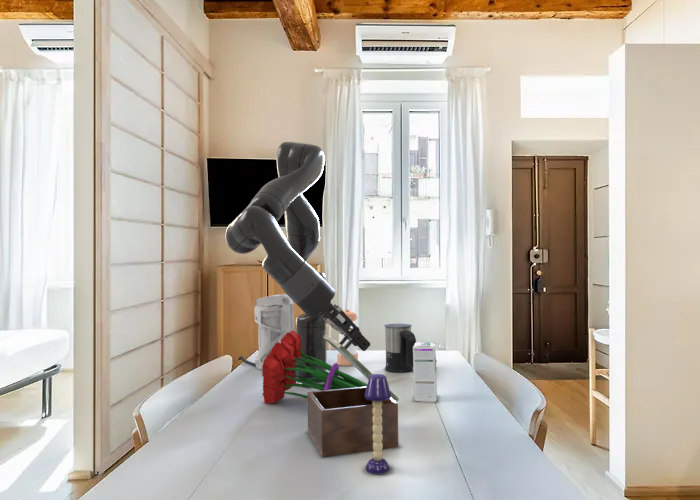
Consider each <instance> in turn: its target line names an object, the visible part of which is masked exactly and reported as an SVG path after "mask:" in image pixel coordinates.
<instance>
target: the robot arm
mask: <svg viewBox="0 0 700 500" xmlns="http://www.w3.org/2000/svg"><path fill="white" fill-rule="evenodd" d="M324 166H325V154H324V150H323V149H322V147H321V146H319V145H315V144H311V143H305V142H295V141H283V142H281V144H280V145H279V146H278V149H277V152H276V169H277V175H278V177H277V178H274V179H272V180H271V181H268V182H267V183H265V184H264V185H263V186H262V187H261V188H260V190H259V191H258V192H257V193H256V194H255V196H254V197H253V198H252V199H251V201H250V203H249V204H248V205H247V206H246V208H244V209H243V210H242V211H241V212H240V213H239V214H237V216H236V217H235V219H234V220H232V222H230V223H229V224H228V226H227V228H226V230H225V233H224V234H225V236H224V237H225V242H226V245H227V247H229V249H230V250H231V251H232V252H235V253H237V254H244V255H246V254H251V253H252V252H254V251H255V250H256V249H258V248H259V246H261V245H262V247H263V249H264V251H265V253H266V255H265V256H264V258H263V260H262V262H261V266H262V269H263V270H264V272H265V273H266V274H267V275H268V276H269V277H270V278H272V279H273V281H274V282H275V283H277V284H278V286H279V287H280V288H281V289H282V290H283V292H284V294H287V295H288V296H289V297H290V298H291V299H292V300H293V303H295V305H296V306H297V307H299V308H300V310H301V311H302V312H303V313H302V314H299V315H297V316H296V317H295V322H294V323H295V332H296V333H297V334H298V335H300V337H301V346H302V348H301V351H303V353H304V354H305V355H307V356H310V357H313V358H316V359H319V360H321V361H324V362H326V363H327V364H328V362H327V361H328V359H327V357H328V355H327V354H328V353H327V340H325V339H324V338H323V337H324V335H327V324H328V325H329V326H330V327H331V328H332V329H333V330H335V331H337V332H339V334H342V335H343V334H344V336H345V335H347V336H348V340H350V339H351V340H352V341H353V343H352V344H353V345H354V346H357V348H359V350H360V351H362V352H366V351H367V350H368V348H369V347H371V342H370V341H369V340H368V339H367V338H366V337H365V336H364V335H363V334H362V332H361V329H360V327H359V326H357V325H356V323H355V324H354V323H353V322H352V320H351V319H350V318H349V317H348V316H347V315H346V314H345V310H343V309H342V307H341V306H339V305H338V304H335V303H332V300H333V299H334V298H335V296H336V291H335V289H334V288H333V287H332V286H331V285H330V284H329V283H328V282H327V276H326V275H325V273H324V272H321V271H319V272H317V270H315V268H313V266H312V265H310V264H309V263H307V261H308V260H309V259H310V257H311V256H312V254H313V253H314V252H315V251H316V249H317V247H318V246H319V243H320V239H321V237H320V221H319V220H320V219H319V217H318V215H317V213H316V211H315V210H314V208H313V207H312V205H311V204H310V203H309V202H308V200H307V198H305V196H304V194H303V193H304V192H306V191H307V190H308V189H309V188H310V187H312V186H313V185H314V184H315V183H316V182H317V181H318V180H319V179H320V178H321V176H322V174H323V171H324ZM282 216H284V228H285V235H284V233H283V231H282V229H281V227H280V226H279V224H278V222H279V221H280V219H281V218H282ZM350 326H351V327H352V328H353V329H352V330H351V331H350V332H348V331H347V329H348V328H349V327H350ZM359 331H360V332H361V333H360V332H359ZM300 359H305V357H303V356H301V357H300ZM308 359H309V358H308ZM237 360H238V361H242V362H243V363H245V364H247V365H250V366H253V367H256V364H255V363H254V362H253V361H250V360H247V359H245V358H244V356H243V355H240V356H239V357H238V359H237ZM309 360H311V359H309ZM298 361H299V360H298ZM312 361H314V360H312ZM299 362H301V363H302V364H303V365H305V366H308V367H312V366H311V365H310V364H309V363H308V362H304V361H299ZM296 364H297V365H300V364H299V363H298V362H296ZM313 365H314V366H315V368H319V369H321V370H324V371H326V372H328V370H326V369H324V368H322V367H321V366H319V365H316V364H313ZM294 368H299V369H305V368H301V367H294ZM295 372H296V373H295ZM294 373H295V375H298V376H301V377H304V378H315V377H314V376H313V375H312V374H311V373H308V372H301V371H294ZM294 377H295V376H294ZM295 378H296V379H300V378H298V377H295ZM303 382H306V381H303ZM313 382H315V383H317V384H321V385H325V384H326V383H324V382H320V381H313ZM306 383H308V382H306ZM295 384H302V383H299V382H297V381H295ZM308 384H310V383H308Z"/></svg>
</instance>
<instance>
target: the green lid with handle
mask: <svg viewBox="0 0 700 500" xmlns="http://www.w3.org/2000/svg"><path fill="white" fill-rule="evenodd" d="M352 329H353V328H352V327H349V328H348V329H347V331H348V332H350V331H351V330H352ZM359 332H360V333H361V334H362V332H361V330H360V331H359ZM323 338H324V339H325V340H326V342H327V343H328V344H329V345H331V346H332V347H333V348H334V349H335V350H336V351H337V353H340V354H342V355H343V356H344V357H345V358H346V359H347V360H348V361H349V362H350V363H351V364H352V367H354V368H355V369H356V370H357V371H358V372H360V374H362V375H363V377H365V378H366V379H367V380H369V377H370V375H372V374H373V373H372V372H371V371H370V370H369V369H368V368H367V367H366V366H365V365H364V364H363V363H361V361H359V359H358V360H357V359H356V358H355V357H354V356H353V355H352V354H351V353H350V352H349V351H348V350H347V348H348V347H349V346H350V345H351V344H352V343H353V341H352V340H351V339H350V340H349V341H348V342H347V343H346V344H345V346H344V347H343V346H342V345H343V344H344V342H345V341H346V340H347V339H348V336H347V335H345V336H344V338H343V339H342V340H341V341H340V342H339V343H338V341H336V340H334V338H332V337H330V336H329V335H328V334H326V335H324V337H323ZM390 394H391V398H392V399H393V400H395V401H396V402H397V403H398V401H399V400H400V397H398V396H397V395H396V394H395V393H393V391H392V390H390Z"/></svg>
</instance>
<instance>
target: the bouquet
mask: <svg viewBox="0 0 700 500" xmlns="http://www.w3.org/2000/svg"><path fill="white" fill-rule="evenodd" d="M290 331H291V330H290ZM277 343H278V344H277ZM277 343H275V345H274V347H273V348H272V350H271V352H272V353H270V352H269V354H270V355H269V354H268V355H267V356H266V358H265V360H264V362H263V366H262V368H263V369H261V370H262V371H261V373H262V374H261V377H262V391H263V392H262V396H263V403H265V404H275V403H277V402H279V401H281V400H283V399H284V398H285V395H291V396H295V397H300V398H304V399H308V395H307V394H302V393H297V392H290V391H288V390H290V389H292V388H293V387H305V388H307V387H308V388H312V389H314V390H317V391H323V390H334V389H345V388H355V387H366V386H367V384H368V383H366V382H364V381H362V380H361V379H358V378H356V377H354V376H352V375H351V374H347V373H345V372H344V371H341V370H340V367H339V366H340V365H338V363H333V364H332V365H331V364H329V363H328V362H327V363H326V362H324V361H321V360H319V359H316V358H313V357H310V356H307V355H305V354H304V353H303V351H301V348H302V346H301V337H300V335H298V334H297V333H296V330H292V331H291V332H287V333H286V335H285V336H284V337H283V338H282V339H281V343H279V342H278V341H277ZM301 356H303V357H305V359H300V357H301ZM308 358H309V359H311V360H309V359H308ZM298 360H299V361H304V362H308V363H309V364H310V365H311V366H312V367H308V366H305V365H303V364H302V363H301V362H299V361H298ZM312 360H314V361H312ZM296 362H298V363H299V364H300V365H297V364H296ZM313 364H316V365H319V366H321V367H322V368H324V369H326V370H327V372H326V371H324V370H321V369H319V368H315V366H314V365H313ZM294 367H301V368H305V369H299V368H294ZM294 371H301V372H308V373H311V374H312V375H313V376H314V377H315V378H304V377H301V376H298V375H295V373H296V372H295V373H294ZM294 376H295V377H298V378H300V379H296V378H295V377H294ZM295 381H297V382H299V383H302V384H295ZM303 381H306V382H308V383H310V384H308V383H306V382H303ZM313 381H320V382H324V383H326V384H324V385H321V384H317V383H315V382H313Z"/></svg>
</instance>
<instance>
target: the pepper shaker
mask: <svg viewBox="0 0 700 500" xmlns="http://www.w3.org/2000/svg"><path fill="white" fill-rule="evenodd" d="M344 312H345V314H346V315H347V316H348V317H349V318H350V319H351V320H352V322H353V323H354V324H355V325H356V321H357V319H358V316H357V313H356V312H354V311H350V309H349V308H346V309H345V310H344ZM350 327H351V326H350ZM343 338H344V334H343V335H342V334H340V333H339V336H338V341H337V342H338V343H339V342H340V341H341V340H342V339H343ZM348 341H349V340H348V339H347V340H346V341H345V342H344V344H343V345H342V346H343V347H344V346H345V344H346V343H347V342H348ZM357 349H358V346H354V345H353V344H351V345H350V346H349V347H348V348H347V350H348V351H349V352H350V353H351V354H352V355H353V356H354V357H355V358H356V359H357V360H358V361H359V354H358V352H357V351H358V350H357ZM336 355H337V356H336V357H337V364H338V365H339V366H344V367H347V366H348V367H350V366H352V367H353V365H352V364H351V363H350V362H349V361H348V360H347V359H346V358H345V357H344V356H343V355H342V354H340V353H339V352H337V354H336Z"/></svg>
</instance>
